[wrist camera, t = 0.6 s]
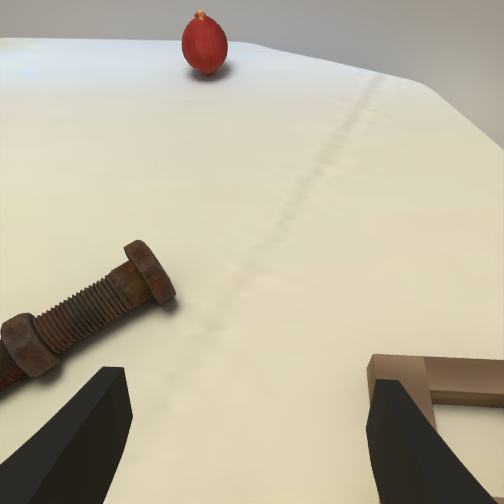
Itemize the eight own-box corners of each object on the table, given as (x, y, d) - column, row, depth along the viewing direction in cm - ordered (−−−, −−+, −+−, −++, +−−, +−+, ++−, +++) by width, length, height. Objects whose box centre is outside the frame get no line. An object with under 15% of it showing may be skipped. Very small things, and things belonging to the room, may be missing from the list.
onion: (189, 63, 57) (178, 0, 50) (231, 61, 56) (225, -2, 50) (185, 86, 53) (172, 21, 47) (229, 84, 53) (222, 19, 46)
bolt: (-3, 392, 31) (166, 286, 36) (-7, 432, 27) (185, 306, 32) (-55, 336, 29) (133, 230, 33) (-69, 371, 25) (150, 244, 29)
